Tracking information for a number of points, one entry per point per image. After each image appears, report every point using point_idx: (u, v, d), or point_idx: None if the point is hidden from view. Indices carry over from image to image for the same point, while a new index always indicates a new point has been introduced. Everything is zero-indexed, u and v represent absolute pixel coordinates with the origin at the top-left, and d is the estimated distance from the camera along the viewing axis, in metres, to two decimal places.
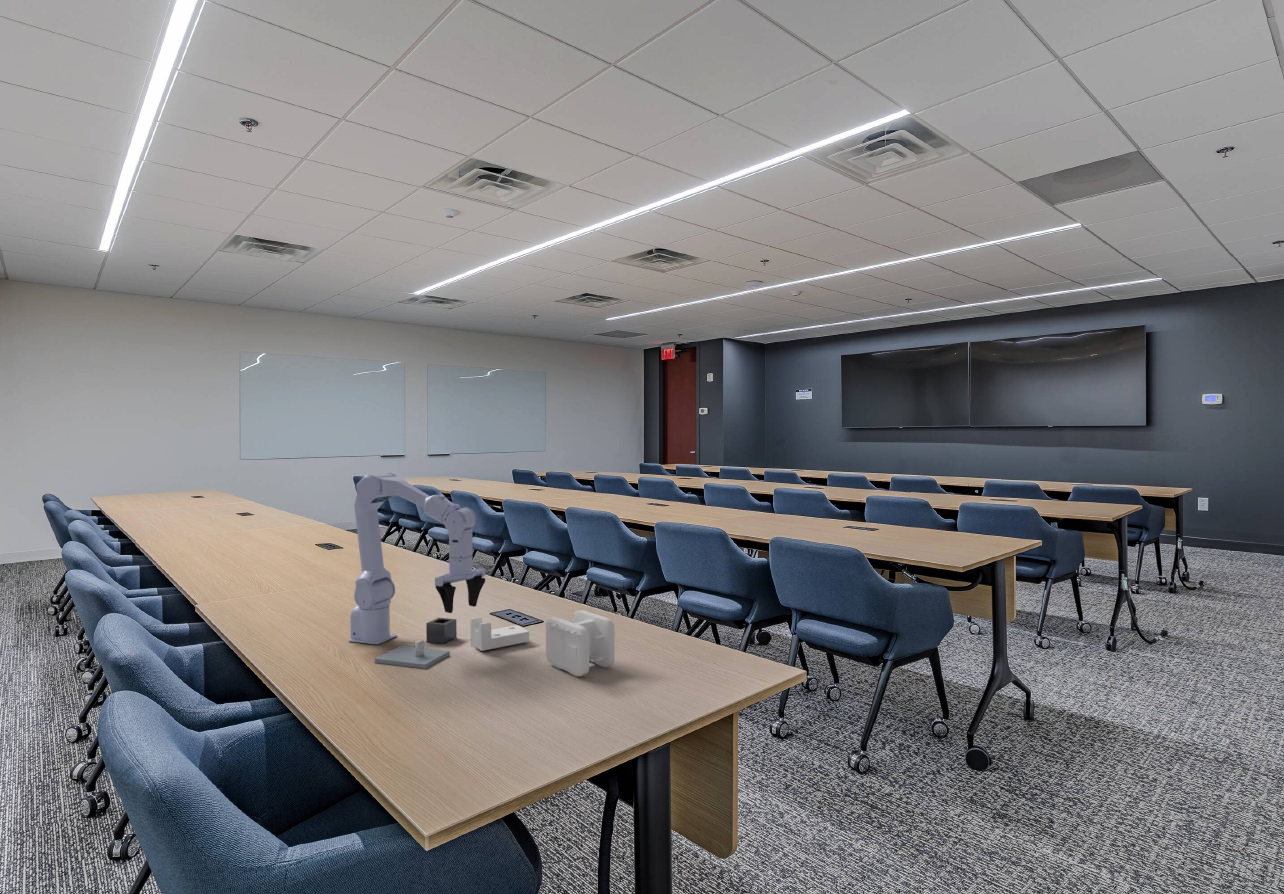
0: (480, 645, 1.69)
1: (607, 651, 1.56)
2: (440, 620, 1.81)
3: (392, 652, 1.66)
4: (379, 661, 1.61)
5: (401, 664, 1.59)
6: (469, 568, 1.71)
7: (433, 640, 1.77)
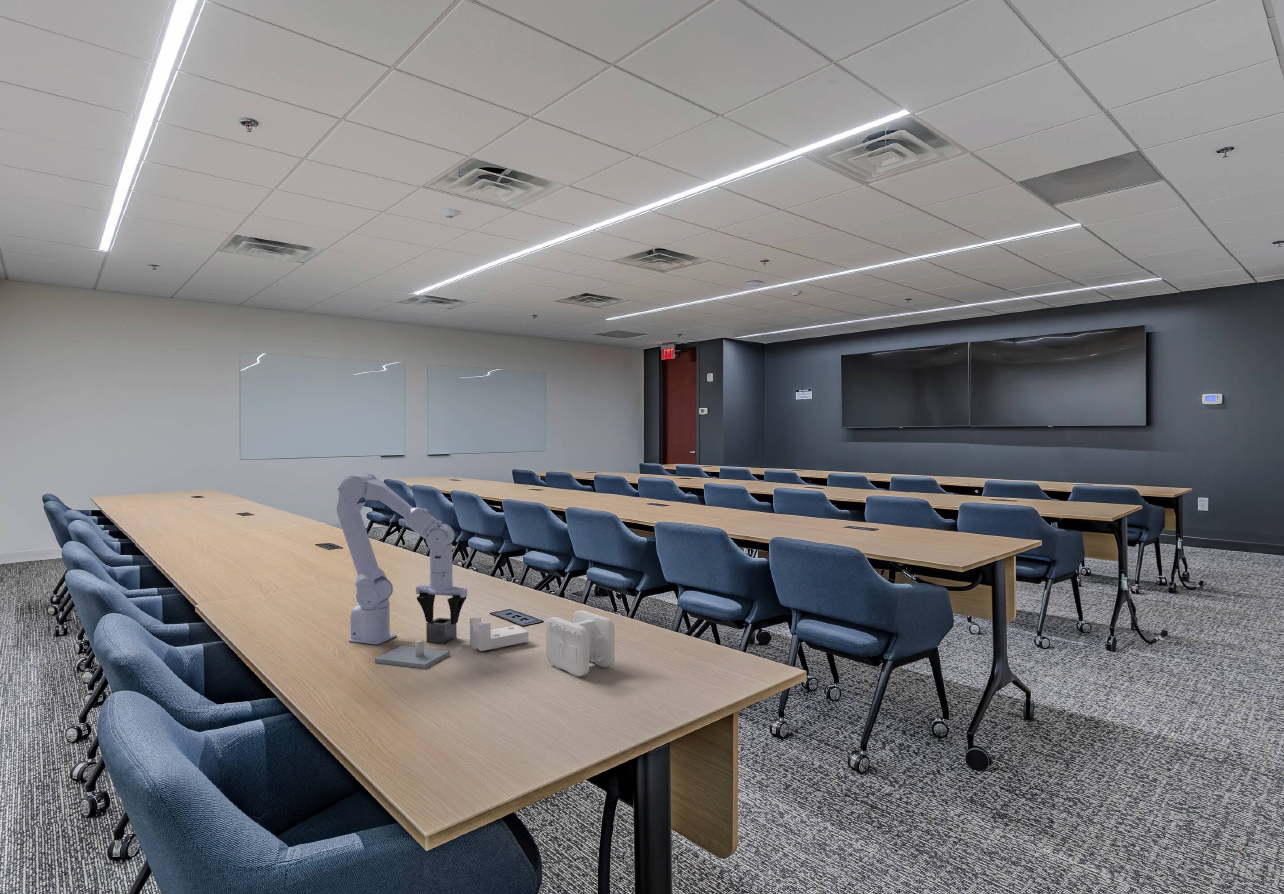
0: (480, 645, 1.68)
1: (607, 651, 1.56)
2: (440, 620, 1.81)
3: (392, 652, 1.66)
4: (379, 661, 1.61)
5: (401, 664, 1.59)
6: (436, 584, 1.76)
7: (433, 640, 1.77)
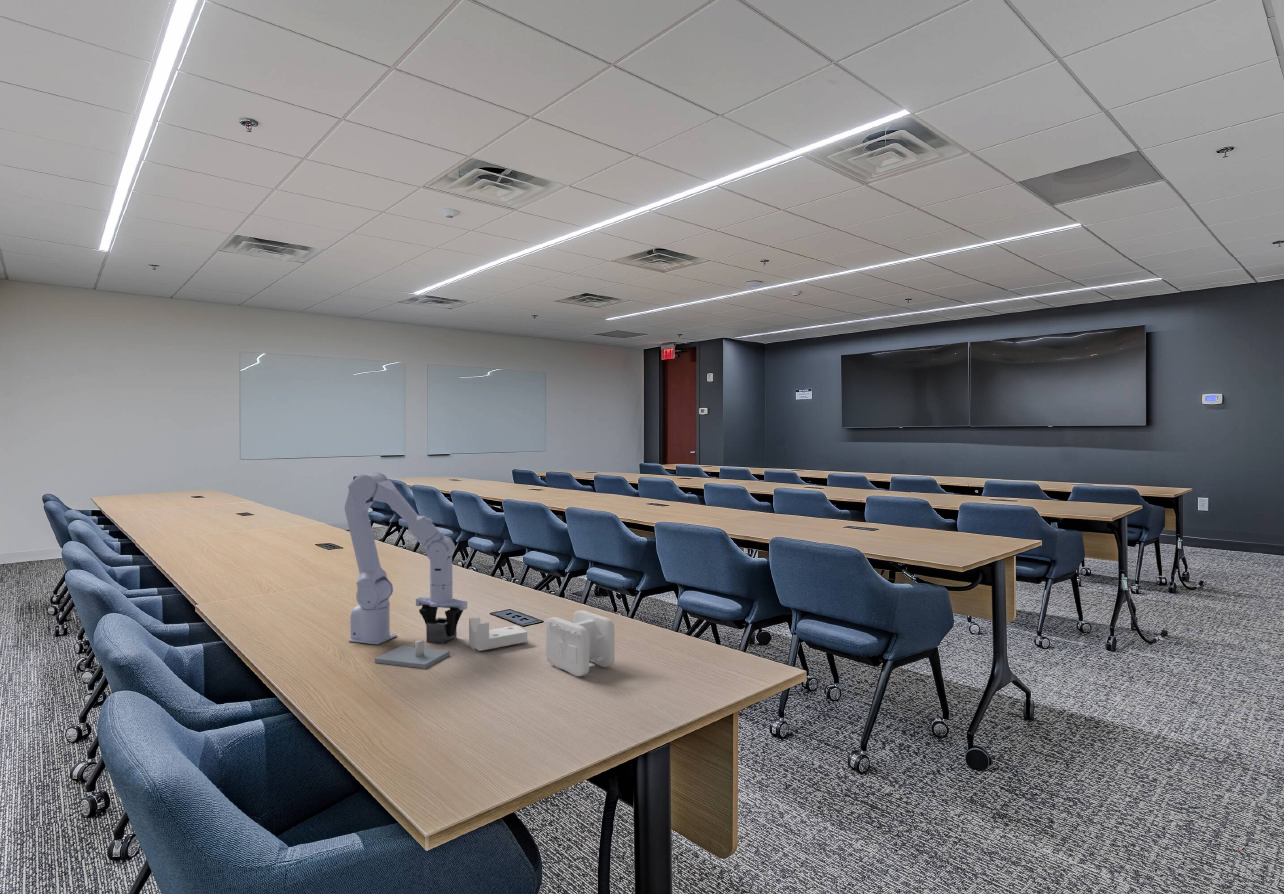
0: (478, 645, 1.69)
1: (607, 651, 1.56)
2: (440, 620, 1.81)
3: (392, 652, 1.66)
4: (379, 661, 1.61)
5: (401, 664, 1.59)
6: (436, 597, 1.76)
7: (433, 640, 1.77)
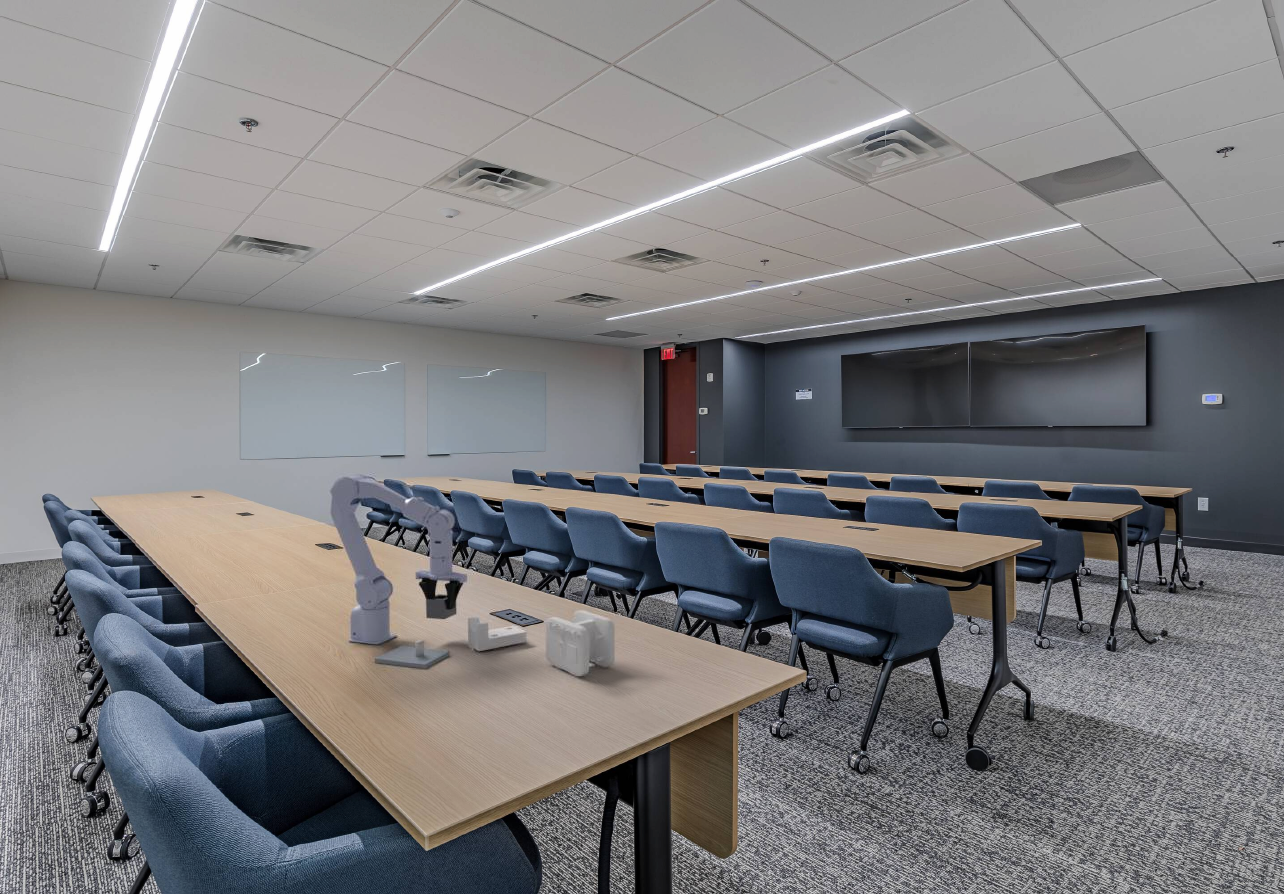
0: (477, 645, 1.68)
1: (607, 651, 1.56)
2: (440, 596, 1.81)
3: (392, 652, 1.66)
4: (379, 661, 1.61)
5: (401, 664, 1.59)
6: (436, 569, 1.76)
7: (433, 616, 1.76)
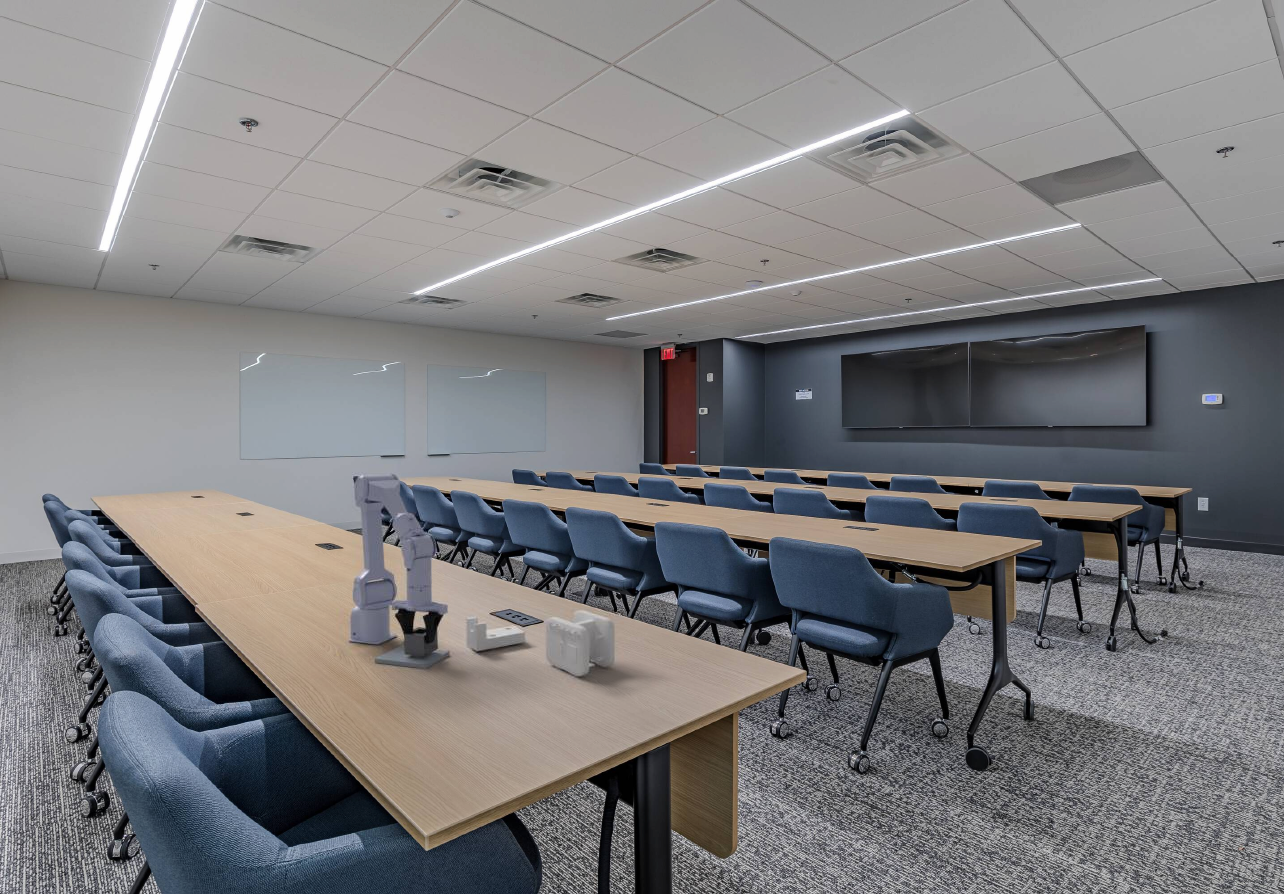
0: (475, 645, 1.68)
1: (607, 650, 1.56)
2: (420, 630, 1.66)
3: (392, 652, 1.66)
4: (379, 661, 1.61)
5: (401, 664, 1.59)
6: (413, 600, 1.60)
7: (412, 652, 1.62)
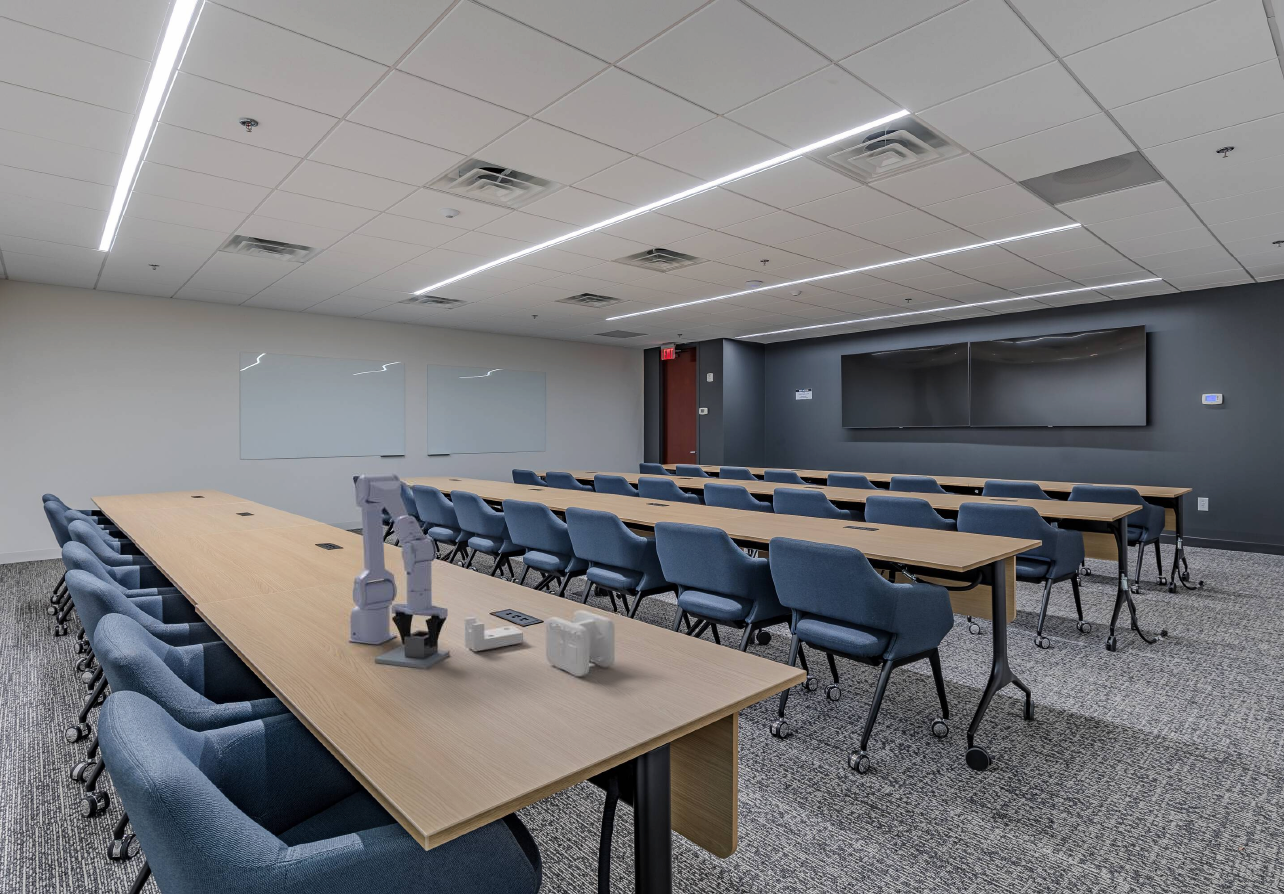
0: (473, 646, 1.68)
1: (607, 651, 1.56)
2: (420, 633, 1.66)
3: (392, 652, 1.66)
4: (379, 661, 1.61)
5: (401, 664, 1.59)
6: (413, 604, 1.60)
7: (412, 655, 1.62)
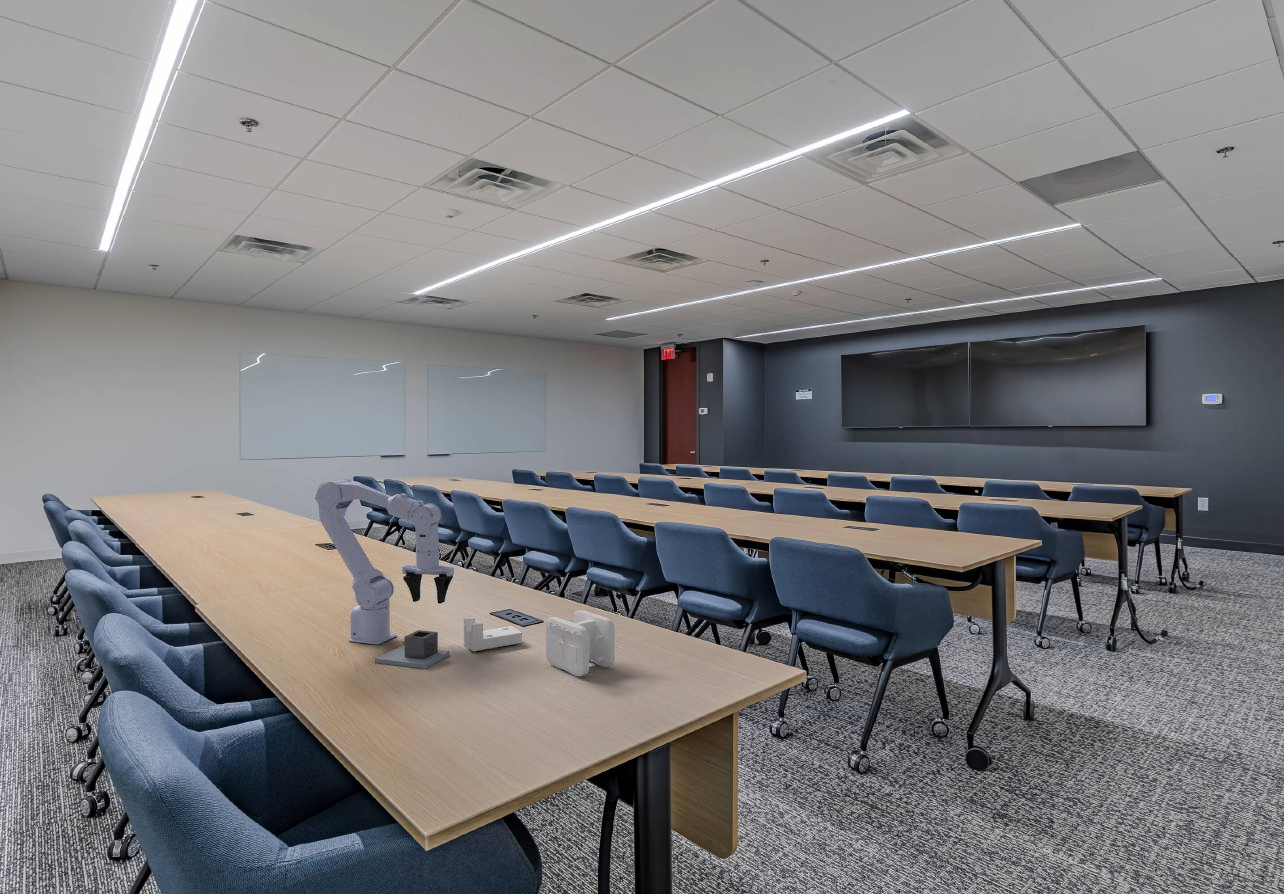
0: (472, 646, 1.68)
1: (607, 651, 1.56)
2: (420, 633, 1.66)
3: (392, 652, 1.66)
4: (379, 661, 1.61)
5: (401, 664, 1.59)
6: (422, 563, 1.75)
7: (412, 655, 1.62)
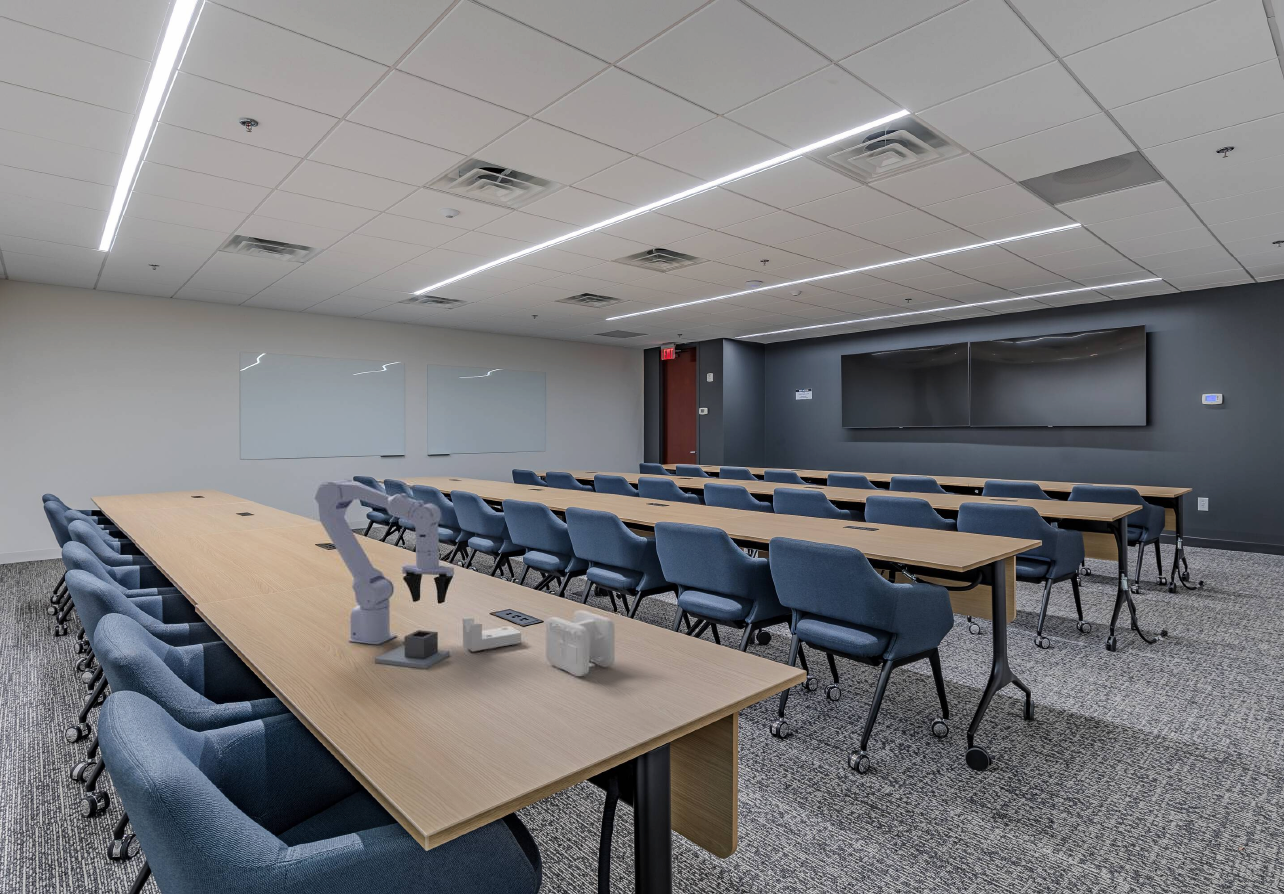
0: (471, 646, 1.68)
1: (607, 651, 1.56)
2: (420, 633, 1.66)
3: (392, 652, 1.66)
4: (379, 661, 1.61)
5: (401, 664, 1.59)
6: (422, 563, 1.75)
7: (412, 655, 1.62)
